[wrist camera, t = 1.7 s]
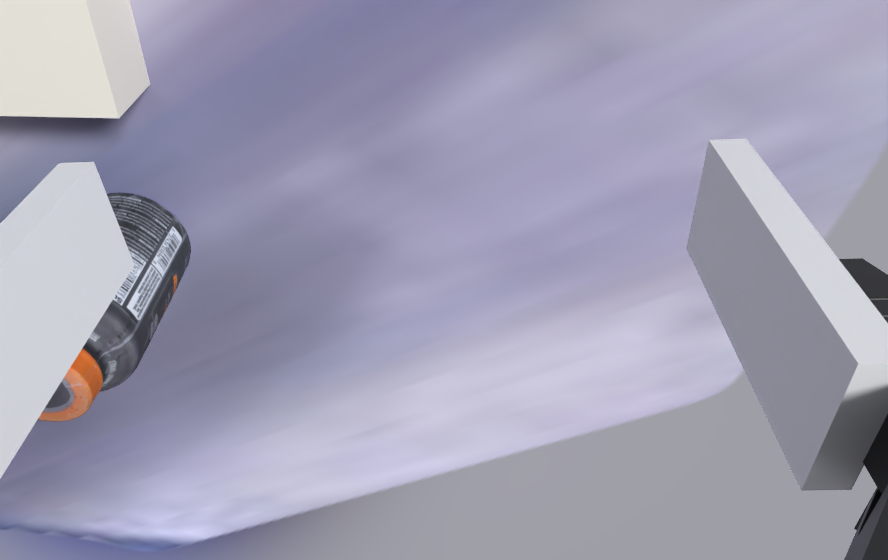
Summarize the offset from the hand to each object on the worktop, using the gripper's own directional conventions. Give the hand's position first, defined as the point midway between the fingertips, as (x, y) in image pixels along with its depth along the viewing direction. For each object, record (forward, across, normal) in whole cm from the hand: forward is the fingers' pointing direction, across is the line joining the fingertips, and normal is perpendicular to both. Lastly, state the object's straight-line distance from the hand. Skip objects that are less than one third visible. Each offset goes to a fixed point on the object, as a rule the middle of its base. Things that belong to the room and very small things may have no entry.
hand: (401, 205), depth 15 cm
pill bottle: (+18, -16, -12) cm, 27 cm away
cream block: (+18, -16, 0) cm, 24 cm away
